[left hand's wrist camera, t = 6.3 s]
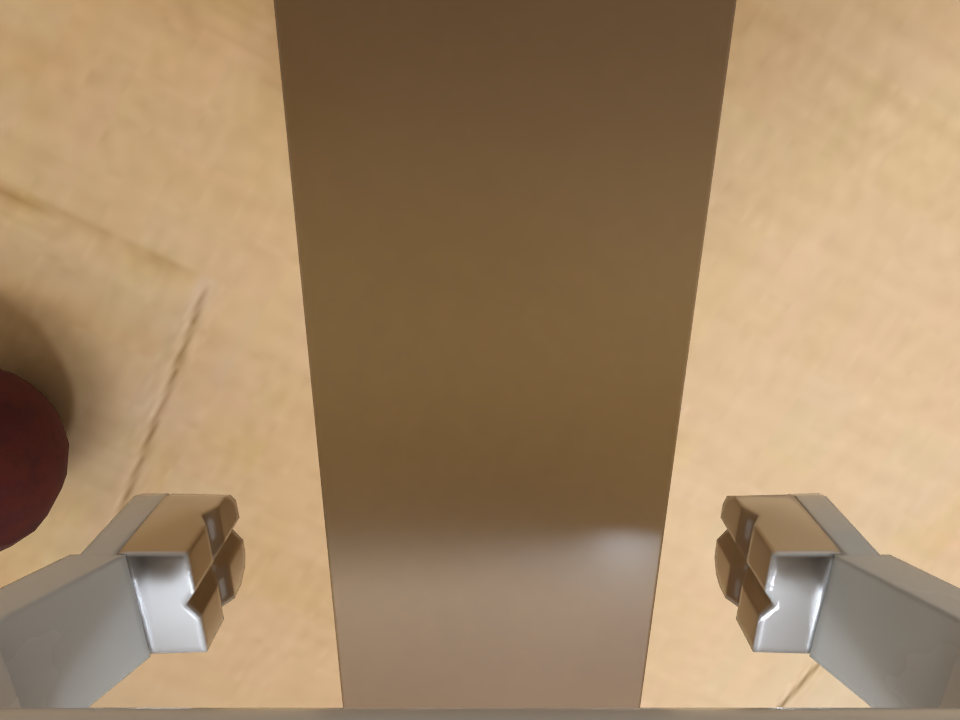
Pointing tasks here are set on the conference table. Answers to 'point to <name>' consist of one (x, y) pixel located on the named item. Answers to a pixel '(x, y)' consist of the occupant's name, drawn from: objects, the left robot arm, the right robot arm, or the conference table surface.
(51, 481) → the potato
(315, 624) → the conference table surface
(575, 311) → the bar
